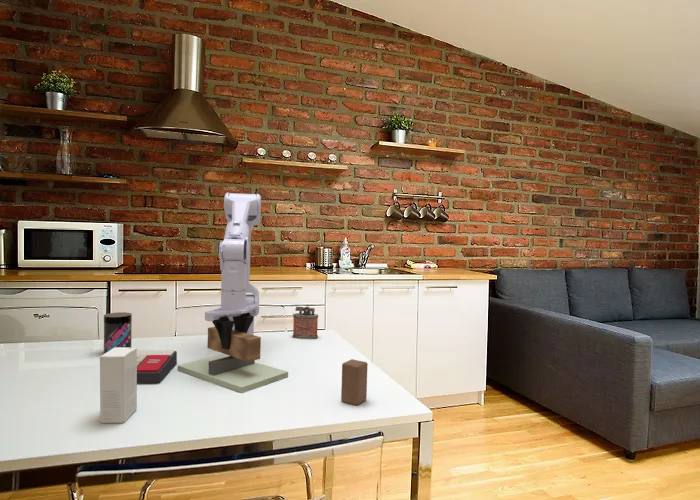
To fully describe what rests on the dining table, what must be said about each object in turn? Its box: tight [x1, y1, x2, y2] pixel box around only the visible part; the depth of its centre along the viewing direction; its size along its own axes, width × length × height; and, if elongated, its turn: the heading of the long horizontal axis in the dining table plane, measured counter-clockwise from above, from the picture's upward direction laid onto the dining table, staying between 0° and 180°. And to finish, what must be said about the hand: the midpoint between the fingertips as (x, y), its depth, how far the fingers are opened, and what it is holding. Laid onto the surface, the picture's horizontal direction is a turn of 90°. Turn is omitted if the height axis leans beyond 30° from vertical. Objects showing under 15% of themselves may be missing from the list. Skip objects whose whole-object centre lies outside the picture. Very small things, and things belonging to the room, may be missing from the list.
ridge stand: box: [177, 353, 289, 394], centre depth 109 cm, size 23×14×4 cm, turn 54°
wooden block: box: [340, 359, 369, 406], centre depth 94 cm, size 4×4×8 cm
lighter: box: [292, 305, 319, 340], centre depth 146 cm, size 8×3×10 cm, turn 84°
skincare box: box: [99, 347, 138, 424], centre depth 83 cm, size 6×4×12 cm
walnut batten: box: [207, 326, 262, 362], centre depth 108 cm, size 16×3×5 cm, turn 50°
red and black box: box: [137, 349, 178, 385], centre depth 107 cm, size 11×4×15 cm
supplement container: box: [103, 311, 133, 354], centre depth 123 cm, size 7×7×10 cm
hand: (232, 346), depth 108 cm, fingers closed on walnut batten, 3 cm apart
